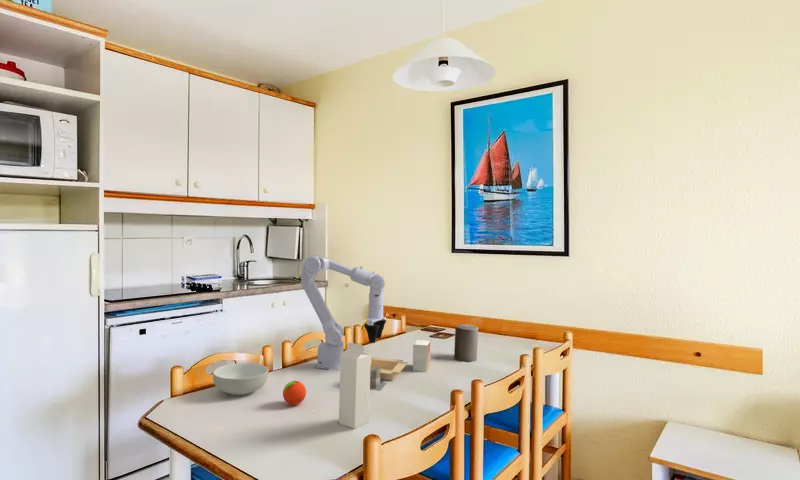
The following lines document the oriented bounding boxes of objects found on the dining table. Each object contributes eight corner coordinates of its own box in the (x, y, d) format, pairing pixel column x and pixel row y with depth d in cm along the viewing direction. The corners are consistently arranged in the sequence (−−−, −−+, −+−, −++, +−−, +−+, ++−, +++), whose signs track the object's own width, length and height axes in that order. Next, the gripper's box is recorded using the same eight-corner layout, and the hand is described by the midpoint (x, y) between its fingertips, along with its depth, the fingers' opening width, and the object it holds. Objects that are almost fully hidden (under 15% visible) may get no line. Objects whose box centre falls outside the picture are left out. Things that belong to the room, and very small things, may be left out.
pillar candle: (451, 360, 196) (452, 324, 196) (457, 354, 205) (458, 320, 205) (474, 363, 192) (475, 327, 192) (479, 357, 202) (481, 322, 201)
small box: (426, 373, 177) (427, 345, 177) (412, 371, 179) (413, 344, 178) (429, 367, 185) (430, 340, 185) (415, 365, 186) (416, 339, 186)
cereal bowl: (215, 404, 141) (216, 380, 141) (210, 387, 156) (210, 365, 156) (272, 396, 149) (273, 374, 149) (262, 380, 164) (262, 360, 164)
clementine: (291, 411, 137) (292, 387, 137) (274, 406, 141) (275, 382, 141) (310, 403, 144) (311, 380, 144) (294, 398, 148) (294, 375, 148)
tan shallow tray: (350, 379, 168) (350, 369, 168) (366, 365, 185) (366, 356, 185) (397, 384, 163) (397, 374, 163) (408, 369, 181) (409, 360, 181)
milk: (353, 417, 135) (355, 340, 134) (369, 422, 131) (371, 343, 131) (338, 423, 130) (340, 343, 129) (354, 429, 126) (356, 347, 126)
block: (353, 385, 159) (353, 368, 159) (358, 381, 164) (358, 364, 164) (376, 388, 158) (376, 370, 157) (380, 383, 162) (380, 366, 162)
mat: (346, 387, 159) (346, 386, 159) (354, 380, 166) (354, 379, 166) (380, 391, 156) (380, 390, 156) (386, 384, 163) (386, 383, 163)
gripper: (380, 309, 175) (379, 345, 175) (390, 303, 189) (389, 337, 189) (362, 308, 176) (361, 344, 177) (374, 302, 191) (373, 335, 191)
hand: (375, 340), depth 183 cm, fingers open, 7 cm apart
